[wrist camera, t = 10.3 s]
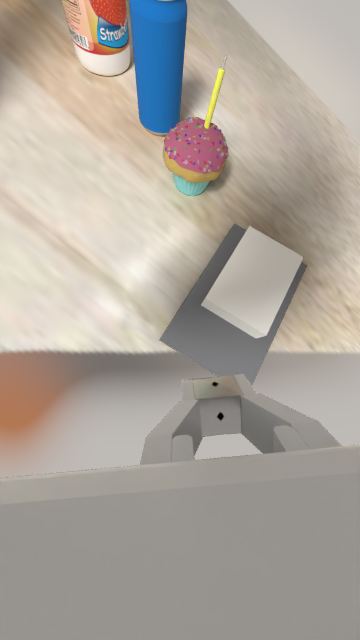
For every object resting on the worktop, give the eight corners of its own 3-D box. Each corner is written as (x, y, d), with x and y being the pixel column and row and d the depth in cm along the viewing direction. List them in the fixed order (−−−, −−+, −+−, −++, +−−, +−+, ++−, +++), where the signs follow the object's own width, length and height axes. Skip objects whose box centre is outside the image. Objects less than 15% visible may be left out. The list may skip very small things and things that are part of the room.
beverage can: (184, 121, 32) (198, -19, 20) (168, 145, 30) (172, 7, 19) (151, 106, 32) (145, -43, 20) (132, 128, 30) (115, -20, 19)
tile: (266, 335, 21) (303, 257, 24) (205, 298, 21) (249, 225, 24) (255, 338, 23) (290, 266, 26) (200, 305, 23) (241, 238, 26)
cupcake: (192, 155, 30) (212, 24, 19) (228, 190, 29) (273, 73, 18) (151, 179, 28) (144, 48, 17) (188, 217, 27) (209, 106, 16)
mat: (245, 394, 22) (247, 394, 21) (159, 340, 22) (159, 339, 22) (303, 267, 27) (306, 265, 26) (232, 226, 27) (234, 223, 27)
